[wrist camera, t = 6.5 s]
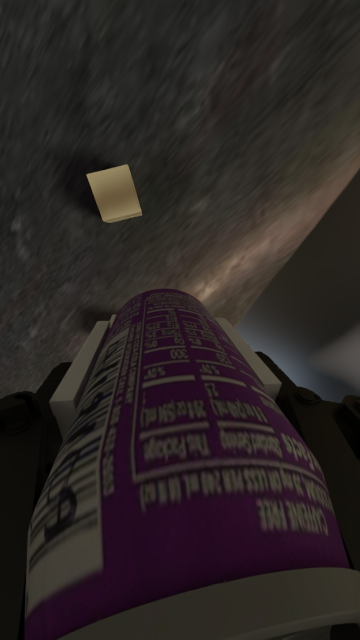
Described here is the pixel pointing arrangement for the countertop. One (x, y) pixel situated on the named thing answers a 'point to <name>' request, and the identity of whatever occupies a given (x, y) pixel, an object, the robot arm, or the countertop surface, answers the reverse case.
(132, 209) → the beech cube
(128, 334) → the beverage can
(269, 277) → the countertop surface
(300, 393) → the robot arm
